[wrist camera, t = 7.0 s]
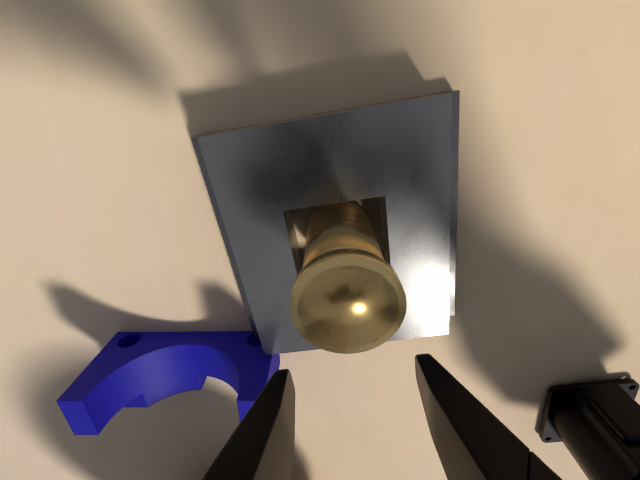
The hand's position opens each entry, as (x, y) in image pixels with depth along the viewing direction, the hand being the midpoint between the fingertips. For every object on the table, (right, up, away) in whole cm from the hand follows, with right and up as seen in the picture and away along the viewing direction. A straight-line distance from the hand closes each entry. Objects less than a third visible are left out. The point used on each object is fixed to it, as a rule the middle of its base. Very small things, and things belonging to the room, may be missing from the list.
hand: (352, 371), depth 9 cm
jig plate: (0, +5, +10) cm, 11 cm away
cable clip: (-10, -5, +15) cm, 19 cm away
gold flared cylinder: (0, +5, +10) cm, 11 cm away
